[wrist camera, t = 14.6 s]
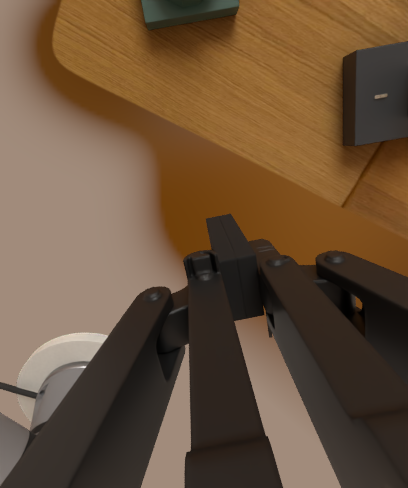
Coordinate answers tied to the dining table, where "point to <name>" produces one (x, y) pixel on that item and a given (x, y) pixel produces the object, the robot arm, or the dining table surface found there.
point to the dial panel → (375, 94)
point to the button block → (185, 11)
